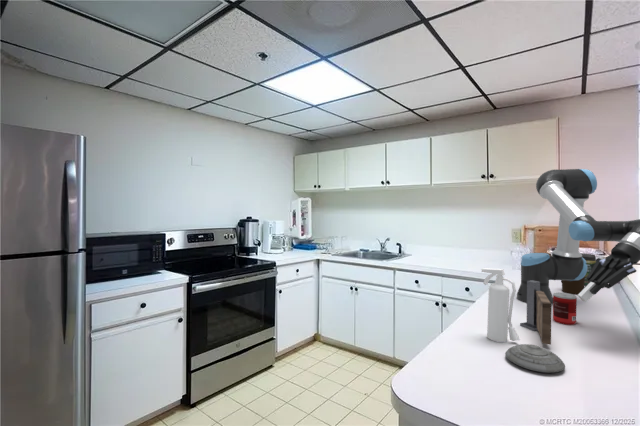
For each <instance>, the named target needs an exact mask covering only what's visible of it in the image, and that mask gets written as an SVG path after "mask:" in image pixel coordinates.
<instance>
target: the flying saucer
mask: <svg viewBox="0 0 640 426" xmlns="http://www.w3.org/2000/svg"><path fill="white" fill-rule="evenodd" d="M504 354H505V357H506V358H507V359H508V360H509V361H510V362H512V363H513V364H515V365H517V366H519V367H521V368H524V369H527V370H530V371H534V372H539V373H559V372H562V371H563V370H565V368H566V364H565V363H564V361H563V360H562V359H561V357H559V355H557V354H556V353H554V352H553V351H550V350H549V349H548V348H545V347H541V346H539V345H535V344H527V343H523V344H521V343H520V344H516V345H513V346H511V347H508V349H507V350H506V351H505V353H504Z"/></svg>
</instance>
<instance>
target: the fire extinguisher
mask: <svg viewBox="0 0 640 426" xmlns="http://www.w3.org/2000/svg"><path fill="white" fill-rule="evenodd" d="M481 273H486V274H487V273H488V274H489V275H487V276H486V277H485V278H484V280H483V282H482V283H483V284H484V286H487V285H488V283H489V281H490V280H491V279H493V277H495V276H496V278H495V282H494V283H491V284H490V285H489V286H488V287H489V288H488V303H487V304H488V305H487V327H486V328H487V329H486V330H487V332H486V337H487V338H488V339H489V340H491V341H493V342H496V343H497V342H498V343H507V342H508V334H509V340H510V341H512V342H516V341H520V340H521V339H520V337H519V335H518V332H517V330H516V328H515V327H513V323H512V317H513V316H512V315H513V308H514V307H513V306H514V300H515V299H514V298H515V296H516V292H517V289H516V283H515V282H514V281H512V280H511V279H510V278H508V277H503V276H505V275H506V273H505V269H503V268H489V267H488V268H487V267H483V268H481ZM504 281H505V282H508V283H509V284H511V288H512V289H511V290H512V291H511V294H510V288H509V286H508V285H506V284H504Z"/></svg>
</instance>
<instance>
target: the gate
mask: <svg viewBox="0 0 640 426" xmlns="http://www.w3.org/2000/svg"><path fill="white" fill-rule="evenodd" d="M536 296H537V329H538V333H539V336H540V340H541V344H545V345H548V346H549V345H552V304H551V303H550V301H549V300H548V298H547V296H546V295H545V293H544V292H542V291H539V290H538V291H536Z"/></svg>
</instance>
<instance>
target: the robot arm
mask: <svg viewBox="0 0 640 426" xmlns="http://www.w3.org/2000/svg"><path fill="white" fill-rule="evenodd" d="M535 187H536V189H535V190H536V191H537V193H538V194H539V196H540V197H541V198H543V199H545V200H547V201H548V202H549V204H551V205H552V207H553V208H554V209H555V210H556V211H557V213H558V214H559V217H558V218H559V219H558V220H559V221H558V230H557V241H556V248H555V249H554V250H552V253H551V254H552V255H551V256H550V255H549V253H546V252H532V253H531V252H530V253H526V254H523V255H522V256H521V260H520V285H519V288H518V291H516V292H517V293H516V299H517V300H518V301H521V302H523V303H527V281H530V280H534V281H538V282H540V291H542V292H544V293H545V295H546V296H547V298H548V300H549V301H550V303H551V305H553V294H552V291H551V289H550V281H561V280H567V281H573V280H580V279H582V278H583V277H584V276H585V275H586V272H587V264H586V263H587V262H586V260H585V259H584V258H582V254H581V252H580V251H579V250H580V244H581V243H580V242H616V243H617V244H615V245H614V246H613V248H612V249H611V250H610V254H609V255H607V256H606V257H605V258H603V259H601V258H599V257H598V258H596V263H595V265H594V266H593V268H592V269H591V271H590V272H589V274H588V276H587V277H586V279H587V280H588V281H589V283H588V284H587V285H584V288H583V290H582V291H581V292H580V293H579V294H578V295H577V297H578V298H579V299H580V300H581V301H583V302H585V303H588V301H589V300H590V299H591V298H592V297H593V296H594V295H596V294H597V293H599V291H601V290H602V289H604V288H606V289H611V288H612V287H613V286H616V285H617V284H618V283H619V282H621V281H622V280H623V279H626V278H627V277H628V276H629V275H633V274H635V273H636V272H637V269H636V268H635V267H634V266H633V265H637V264H638V263H639V262H640V218H639V219H633V220H608V221H607V220H596V219H595V218H594V217H593V216H592V215H591V214H590V213H589V212H587V210H585V208H584V205H585V202H586V201H587V200H589V198H590V195H591V194H594V193H595V191H596V190H597V187H598V180H597V176H596V175H595V174H594V172H592V171H591V170H589V169H585V168H569V169H568V168H567V169H551V170H547V171H545V172H543V173H542V174H541V175H540V176H539V177H538V178H537V180H536V184H535Z"/></svg>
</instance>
